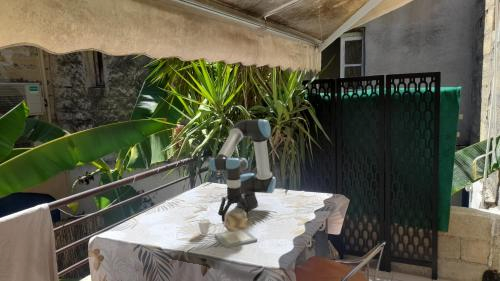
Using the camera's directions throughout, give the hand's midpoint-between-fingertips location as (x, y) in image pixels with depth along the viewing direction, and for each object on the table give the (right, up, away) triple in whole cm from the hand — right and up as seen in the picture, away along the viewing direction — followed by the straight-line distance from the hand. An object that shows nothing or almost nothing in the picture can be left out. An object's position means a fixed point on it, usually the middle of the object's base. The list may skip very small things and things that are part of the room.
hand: (235, 224), depth 194 cm
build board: (0, -8, +1) cm, 8 cm away
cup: (-17, -8, +9) cm, 20 cm away
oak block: (0, -1, 0) cm, 1 cm away
